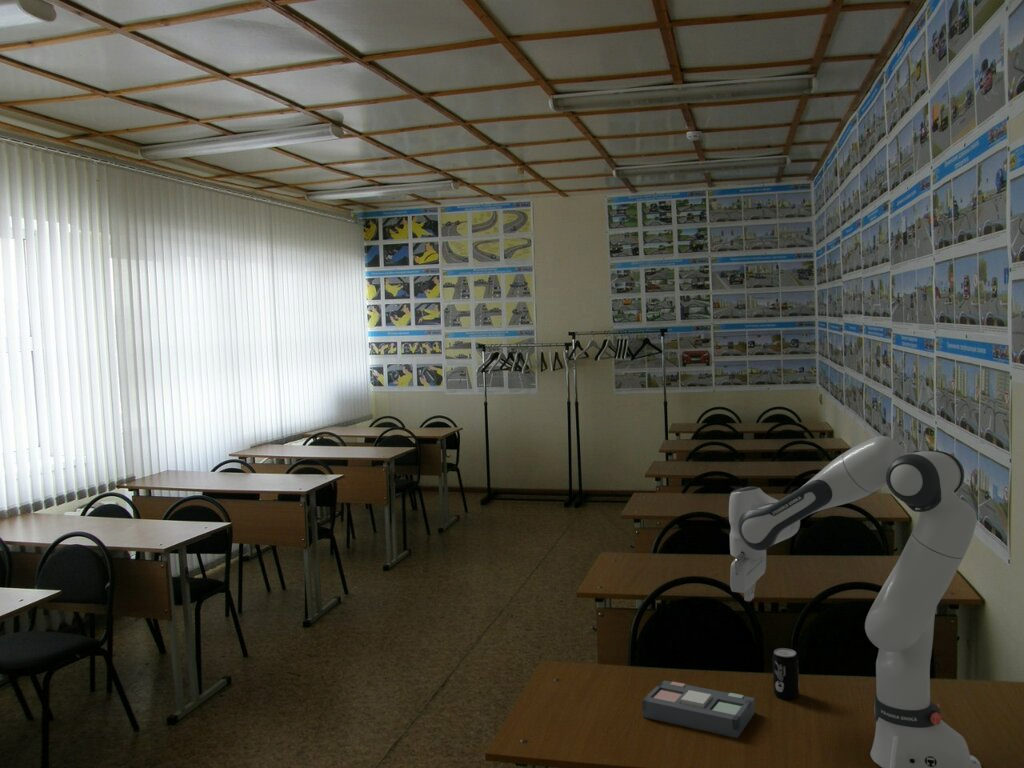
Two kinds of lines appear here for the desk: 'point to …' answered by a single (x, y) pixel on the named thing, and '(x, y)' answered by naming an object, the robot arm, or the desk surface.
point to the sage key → (727, 708)
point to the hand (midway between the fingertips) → (749, 599)
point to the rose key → (667, 695)
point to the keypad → (699, 710)
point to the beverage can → (785, 673)
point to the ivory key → (696, 699)
